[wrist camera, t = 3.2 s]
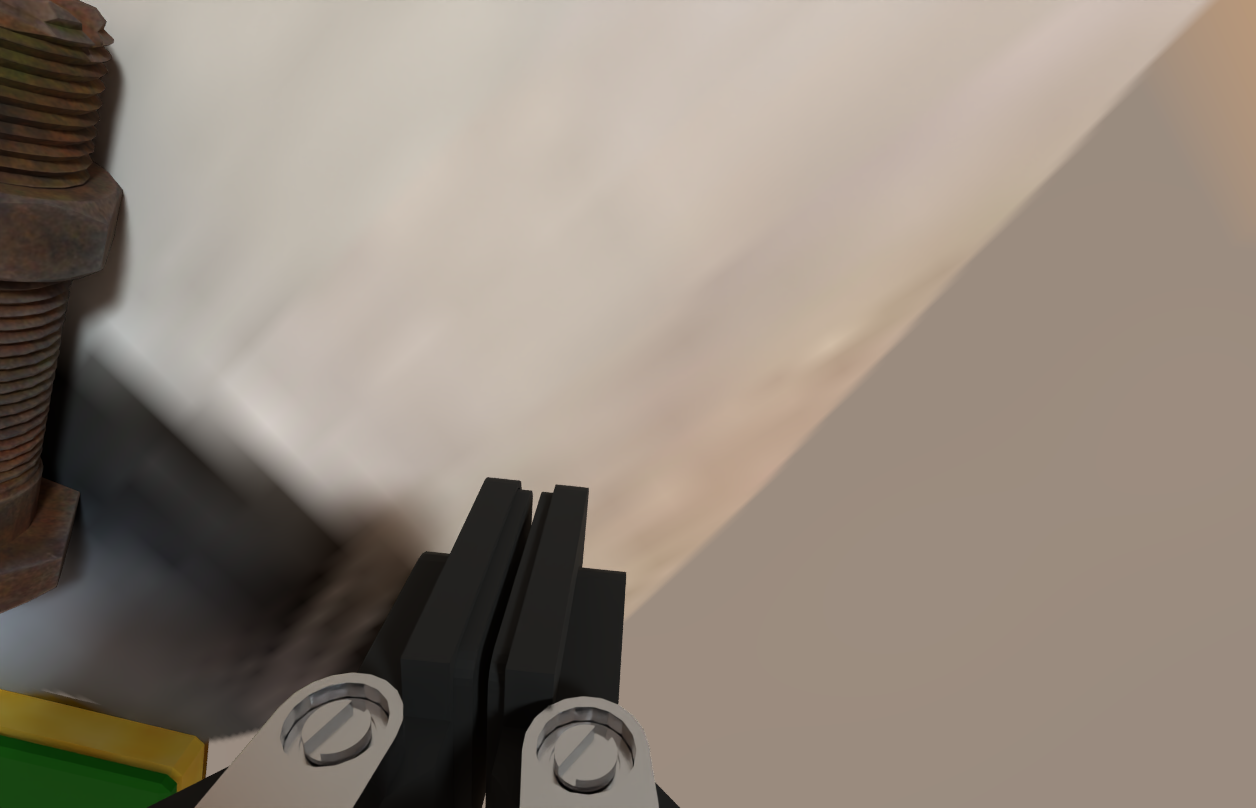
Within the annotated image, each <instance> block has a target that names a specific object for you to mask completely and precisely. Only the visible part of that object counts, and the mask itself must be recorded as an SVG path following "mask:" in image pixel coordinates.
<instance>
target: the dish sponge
mask: <svg viewBox="0 0 1256 808" xmlns="http://www.w3.org/2000/svg"><path fill="white" fill-rule="evenodd" d="M208 748H209V741H208V742H201V741H200V740H199V739H198V738H197V737H196V736H193V735H189V734H185V733H181V732H177V731H173V730H168V729H164V728H160V727H156V726H152V725H148V724H143V723H139V722H135V721H131V720H127V719H123V718H119V717H114V716H111V715H109V714H107V713H106V712H104V711H102V710H100V709H97V708H95V707H93V706H90V705H88V704H85V703H83V702H80V701H78V700H75V699H73V698H70V697H66V696H59V695H54V694H50V693H46V694H42V693H33V694H27V693H26V694H19V693H15V692H10V691H6V690H2V689H0V808H147V807H149V806H151V805H153V804H155V803H157V802H159V801H161V800H163V799H165V798H167V797H169V796H171V795H173V794H175V793H177V792H179V791H181V790H183V789H185V788H187V787H189V786H191V785H193V784H195V783H197V782H199V781H201V780H203V779H205V778H206V770H207V759H208Z"/></svg>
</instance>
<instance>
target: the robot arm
mask: <svg viewBox="0 0 1256 808" xmlns="http://www.w3.org/2000/svg"><path fill="white" fill-rule="evenodd" d="M588 494H589V488H585V487H575V486H566V485H556V486H555V489H554V492H553V493H549V492H542V493H541V496H540V499H539V502H538V506H537V509H536V512H535V515H534V519H533V522H532V502H533V493H532V491H529V490H522V487H521V481H518V480H508V479H499V478H489V477H488V478H486V479H485V481H484V483H483V485H482V487H481V489H480V491H479V494H478V496H477V498H476V500H475V502H474V504H473V506H472V508H471V510H470V513H469V515H468V517H467V519H466V521H465V523H464V525H463V527H462V529H461V532H460V534H459V536H458V538H457V540H456V542H455V544H454V546H453V548H452V551H451V553H450V554H446V553H436V552H427V551H426V552H424V553H422V555H421V556H420V558H419V559H418V561H417V563H416V565H415V566H414V568H413V570H412V572H411V574H410V576H409V577H408V579H407V581H406V583H405V585H404V587H403V589H402V590H401V592H400V594H399V596H398V598H397V600H396V602H395V603H394V605H393V607H392V609H391V611H390V613H389V615H388V616H387V618H386V620H385V622H384V624H383V626H382V627H381V629H380V631H379V633H378V635H377V637H376V639H375V640H374V642H373V644H372V646H371V648H370V650H369V652H368V653H367V655H366V657H365V659H364V661H363V663H362V665H361V666H360V668H359V670H358V672H357V673H346V674H339V675H332V676H329V677H326V678H324V679H321V680H318V681H315V682H312V683H311V684H309V685H307V686H306V687H304V688H302V689H301V690H299V691H297V692H295V693H294V694H293V695H292V696H291V697H290V698H288V699H287V700H286V701H285V702H284V703H283V704H282V705H281V706H280V707H279V708H278V709H277V710H276V711H275V713H274V714H273V715H272V716H271V717H270V719H269V720H268V721H267V722H266V723H265V724H264V726H263V727H262V728H261V729H260V730H259V732H258V733H257V734H256V735H255V736H254V738H253V739H252V740H251V741H250V742H249V744H248V745H247V746H246V747H245V748H244V750H243V751H242V752H241V753H240V754H239V755H238V757H237V758H236V759H235V760H234V761H233V763H232V764H231V765H230V766H229V767H227V768H225V769H223V770H221V771H219V772H217V773H215V774H213V775H211V776H209V777H207V778H205V779H203V780H201V781H199V782H197V783H195V784H193V785H191V786H189V787H187V788H185V789H183V790H181V791H179V792H177V793H175V794H173V795H171V796H169V797H167V798H165V799H163V800H161V801H159V802H157V803H155V804H153V805H151V806H149V807H147V808H482V805H483V801H484V797H485V793H486V807H485V808H680V807H679V806H678V805H677V804H676V803H675V802H674V801H673V800H672V799H671V798H670V797H669V796H668V795H667V794H666V793H665V792H664V791H663V790H662V789H661V788H660V787H659V786H658V785H657V784H656V783H655V780H654V773H653V767H652V761H651V755H650V748H649V744H648V741H647V738H646V735H645V732H644V729H643V728H642V727H641V726H640V724H639V723H638V721H637V720H636V719H635V717H634V716H633V715H632V714H630V713H629V712H628V711H626V710H625V709H624V708H622V707H621V706H619V705H618V700H619V683H620V667H621V666H620V665H621V651H622V634H623V619H624V603H625V586H626V572H619V571H609V570H600V569H590V568H582V564H583V552H584V541H585V529H586V518H587V506H588ZM531 523H532V525H531Z"/></svg>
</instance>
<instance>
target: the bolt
mask: <svg viewBox="0 0 1256 808" xmlns="http://www.w3.org/2000/svg"><path fill="white" fill-rule="evenodd" d="M105 24H106V20H105V19H104V18H103V16H102V15H101V14H100V12H99V11H98V10H97V8H96V7H93V6H91V5H89V4H86V3H84V2H81V1H80V0H0V613H3V612H5V611H8V610H10V609H12V608H15V607H17V606H19V605H22V604H24V603H26V602H28V601H30V600H32V599H34V598H36V597H38V596H40V595H42V594H44V593H46V592H48V591H50V590H52V589H53V588H55V587H57V584H58V581H59V578H60V575H61V571H62V568H63V564H64V560H65V556H66V552H67V549H68V545H69V541H70V537H71V533H72V529H73V524H74V520H75V515H76V510H77V506H78V501H79V496H80V493H79V492H78V491H76V490H73V489H71V488H68V487H66V486H63V485H60V484H58V483H55V482H53V481H50V480H48V479H45V478H43V477H42V471H43V463H42V459H41V457H40V455H41V453H42V449H43V448H42V445H43V439H44V434H45V431H46V422H47V416H48V412H49V404H50V399H51V392H52V387H53V381H54V379H55V370H56V368H57V357H58V356H59V353H60V352H59V347H60V345H61V335H62V329H63V322H64V321H65V318H66V317H65V314H64V312H65V311H66V310H67V299H68V298H69V294H70V291H69V287H70V286H71V282H72V279H78V278H82V277H84V276H87V275H90V274H93V273H95V272H97V271H100V270H102V269H103V267H104V265H105V263H106V260H107V257H108V254H109V251H110V248H111V245H112V241H113V237H114V233H115V228H116V223H117V218H118V213H119V208H120V203H121V198H122V193H123V189H122V188H121V187H120V186H119V185H118V183H117V182H116V181H115V180H114V179H113V177H112V176H111V175H110V174H109V173H108V172H107V171H106V170H104V169H103V168H102V167H100V166H99V165H97V164H96V163H94V162H92V160H91V158H90V155H89V153H92V152H93V151H94V147H95V146H94V144H93V142H92V139H93V138H95V137H96V136H97V129H96V128H95V127H94V125H96V124H97V122H98V121H99V120H100V117H99V114H98V112H97V111H96V110H97V109H99V108H100V107H101V106H102V105H103V103H102V101H101V98H100V97H99V96H98V95H97V94H99V93H101V92H102V91H103V90H104V89H105V86H104V83H103V82H102V81H101V80H100V79H99V78H100V77H102V76H103V75H105V74H106V73H108V70H107V69H106V67H105V65H104V64H103V63H102V62H106V61H108V60H110V59H111V55H110V53H109V52H108V51H107V50H106V49H105V48H104V47H103V46H107V45H110V44H112V43H114V39H113V38H112V37H111V36H110V35H109V34H108V33H107V32H106V31H105V30H104V27H105Z"/></svg>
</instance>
